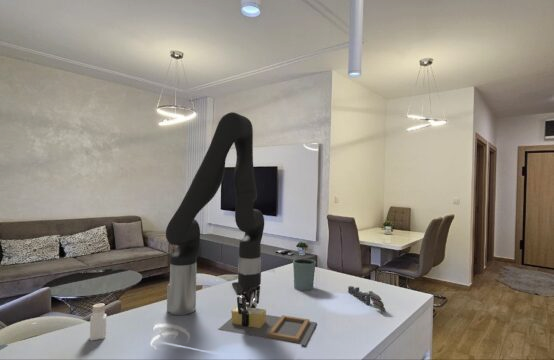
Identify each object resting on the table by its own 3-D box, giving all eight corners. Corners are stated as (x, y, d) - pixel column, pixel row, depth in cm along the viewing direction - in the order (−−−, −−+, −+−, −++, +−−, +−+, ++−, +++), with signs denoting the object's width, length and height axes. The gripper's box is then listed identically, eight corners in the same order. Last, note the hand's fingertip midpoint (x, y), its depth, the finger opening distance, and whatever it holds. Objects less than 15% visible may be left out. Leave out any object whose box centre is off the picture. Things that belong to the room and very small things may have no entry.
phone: (248, 281, 150) (255, 291, 135) (248, 283, 149) (255, 294, 135) (231, 282, 147) (236, 293, 133) (231, 285, 147) (236, 295, 133)
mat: (217, 331, 100) (217, 326, 100) (239, 312, 115) (239, 307, 115) (305, 346, 91) (305, 341, 91) (316, 324, 106) (316, 319, 106)
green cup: (288, 285, 146) (289, 259, 146) (308, 283, 150) (308, 257, 150) (299, 292, 137) (300, 264, 137) (319, 289, 141) (320, 262, 141)
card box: (231, 323, 105) (231, 310, 105) (238, 317, 109) (238, 305, 109) (260, 328, 101) (260, 315, 102) (265, 321, 106) (265, 309, 106)
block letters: (385, 315, 115) (386, 299, 115) (381, 315, 114) (382, 299, 114) (351, 292, 139) (351, 279, 139) (348, 292, 138) (348, 279, 138)
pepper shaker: (91, 335, 96) (92, 303, 96) (106, 333, 98) (107, 301, 98) (89, 341, 92) (90, 308, 92) (105, 339, 94) (105, 306, 94)
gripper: (248, 264, 114) (247, 312, 113) (229, 274, 100) (228, 329, 100) (267, 266, 111) (267, 315, 111) (251, 277, 98) (250, 333, 97)
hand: (248, 321), depth 105 cm, fingers closed on card box, 5 cm apart
